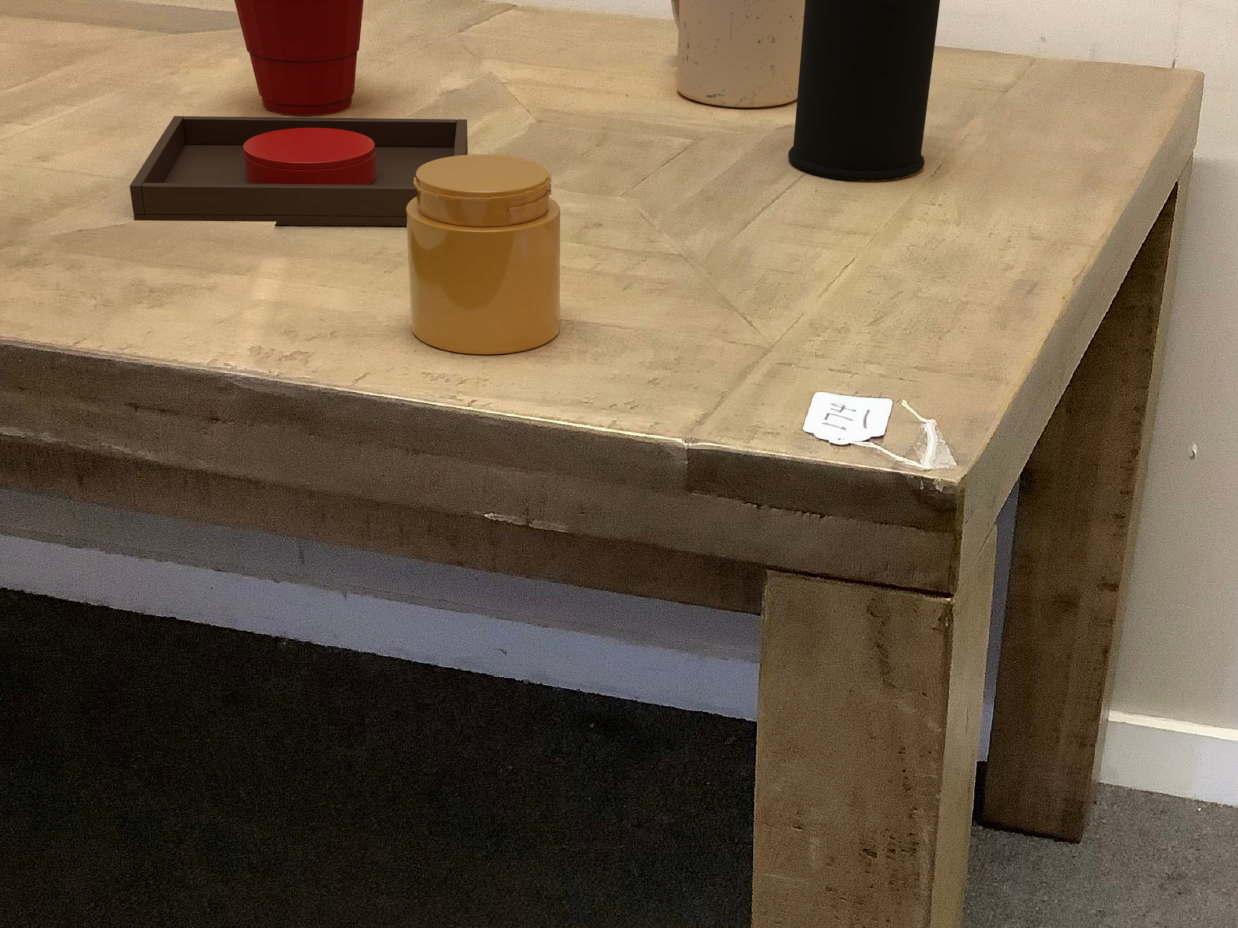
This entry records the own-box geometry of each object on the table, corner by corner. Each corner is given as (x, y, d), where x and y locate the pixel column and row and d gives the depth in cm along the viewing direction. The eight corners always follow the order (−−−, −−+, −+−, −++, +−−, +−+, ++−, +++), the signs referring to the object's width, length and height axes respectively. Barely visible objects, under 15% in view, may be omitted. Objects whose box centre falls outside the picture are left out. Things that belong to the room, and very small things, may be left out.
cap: (359, 200, 91) (357, 166, 90) (229, 192, 92) (226, 158, 91) (389, 163, 97) (387, 131, 96) (267, 156, 98) (263, 124, 97)
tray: (134, 224, 88) (129, 185, 87) (178, 150, 100) (173, 115, 99) (462, 226, 89) (461, 188, 88) (468, 153, 101) (467, 119, 100)
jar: (408, 354, 74) (399, 194, 70) (415, 301, 80) (407, 150, 76) (561, 355, 75) (562, 195, 71) (558, 302, 80) (558, 151, 76)
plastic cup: (222, 129, 104) (199, -85, 97) (222, 87, 113) (201, -113, 106) (398, 125, 106) (388, -86, 99) (385, 84, 115) (374, -113, 108)
